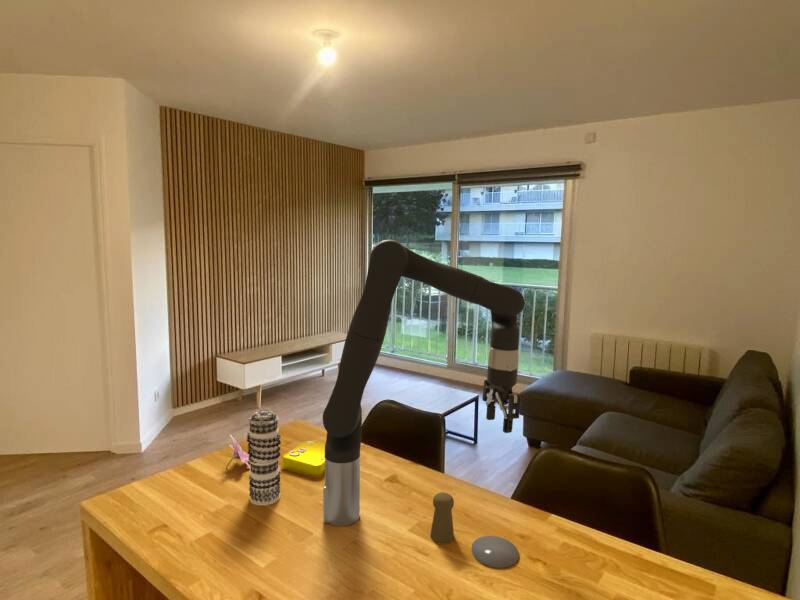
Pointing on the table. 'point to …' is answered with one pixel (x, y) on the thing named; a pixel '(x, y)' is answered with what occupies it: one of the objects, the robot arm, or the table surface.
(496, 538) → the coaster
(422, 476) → the table surface
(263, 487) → the decorative candle
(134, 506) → the table surface
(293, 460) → the element tile
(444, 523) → the olive game pawn
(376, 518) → the table surface
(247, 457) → the lily
